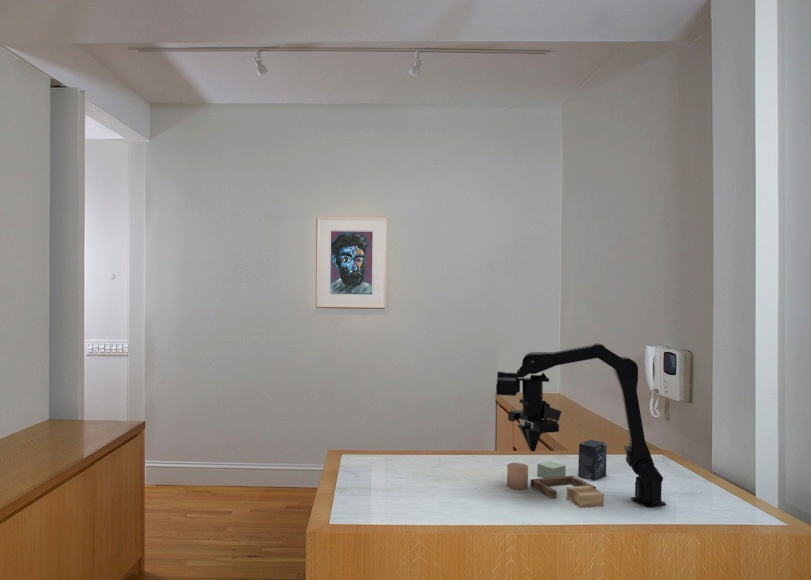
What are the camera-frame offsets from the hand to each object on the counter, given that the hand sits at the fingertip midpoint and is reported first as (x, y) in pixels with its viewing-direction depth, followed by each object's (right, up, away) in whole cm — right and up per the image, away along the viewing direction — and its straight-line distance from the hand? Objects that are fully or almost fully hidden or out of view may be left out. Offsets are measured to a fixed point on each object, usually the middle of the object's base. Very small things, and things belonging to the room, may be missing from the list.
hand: (532, 451), depth 164 cm
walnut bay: (+9, -12, +2) cm, 15 cm away
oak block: (+12, -12, -8) cm, 19 cm away
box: (+22, -13, +15) cm, 30 cm away
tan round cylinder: (-4, -12, +4) cm, 13 cm away
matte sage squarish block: (+9, -12, +14) cm, 20 cm away
